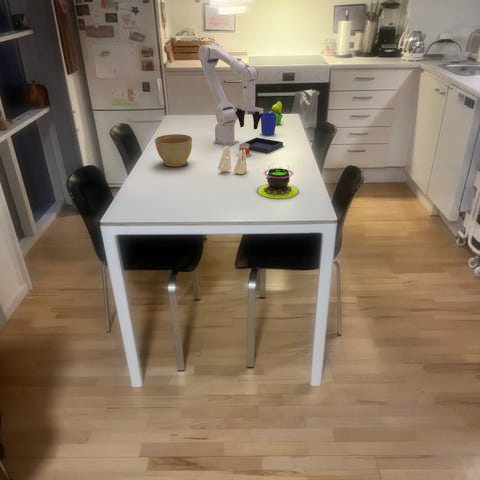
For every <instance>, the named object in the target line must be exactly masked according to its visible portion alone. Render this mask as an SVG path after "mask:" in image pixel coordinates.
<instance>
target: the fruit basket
mask: <svg viewBox="0 0 480 480" xmlns="http://www.w3.org/2000/svg"><path fill="white" fill-rule="evenodd" d="M282 108H283V104H282V101H279V100H278V101H277V102H276V103H274V104H273V105H272V106H271V110H269V111H265V112H264V111H263V113H275V114H276V115H277V116H276V125H275V126H280V125H281V122H282V118H283V114H282V110H283V109H282Z"/></svg>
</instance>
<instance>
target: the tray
mask: <svg viewBox="0 0 480 480" xmlns="http://www.w3.org/2000/svg"><path fill="white" fill-rule="evenodd" d="M243 143H247V144H250V152H251V151H252V152H255V153H256V152H258V153H262V154H271V153H272V152H275V151H276V150H278V149H281V148H283V147H284V141H279V140H275V139H268V138H262V137H254V138H251V139H249V140H247V141H244V142H243Z"/></svg>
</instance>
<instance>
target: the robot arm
mask: <svg viewBox="0 0 480 480" xmlns="http://www.w3.org/2000/svg"><path fill="white" fill-rule="evenodd" d="M197 57H198V59H199V62H200V64H201V69H202V71H203V75H204V77H205V79H206V83H207V84H208V87H209V89H210V92H211V94H212V98H213V100H214V102H215V104H216V108H215V109H214V113H215V119H216V122H217V123H216V124H215V127H214V144H219V145H225V146H231V145H234V144H237V143H238V142H239V140H236V139H235V138H236V136H235V132H236V131H235V130H236V129H235V125H236V122H237V120H238V123H239V127H240V128H243V127H245V115H246V112H248V113H252V114H251V116H252V120H253V130H258V126H259V124H260V121H261V116H262V113H264V108H263V107H258V106H256V81H257V80H258V77H259V71H258V68H256V66H254V65H251V66H250V65H249V64H248V63H246V62H244V61H243V60H242V58H241V57H235V58H234V57H233V56H232V55H230V53H229V52H228V51H226V50H225V49H224V48H223V46H222V45H220V44H219V43H212V44H201V45H200V46H199V48H198V51H197ZM219 61H221V62H223V63H225V64H226V65H228V66H229V69H230V70H231V72H233V73H235V74H236V75H237V76H238V77H239V78H240V81H241V86H242V104H236V105H234V104H232V103H231V102H229V101H228V98H227V96H226V94H225V91H224V88H223V86H222V84H221V81H220V79H219V75H218V74H217V71H216V67H217V64H218V63H219Z"/></svg>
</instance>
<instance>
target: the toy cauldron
mask: <svg viewBox="0 0 480 480" xmlns="http://www.w3.org/2000/svg"><path fill="white" fill-rule="evenodd" d="M272 165H273V164H270V165H268V169H266V170H264V171H263V175H264V176H265V179H266V182H267V184H264V185H262V186H260V187H259V188H258V193H259V195H260V196H263V197H265V198H269V199H275V200H276V199H277V200H278V199H282V200H283V199H289V198H292V197H295V196H296V195H297V194H298V189H297V188H296V187H295V186H292V185H289V183H290V181H291V180H290V179H291V177H292V176H294V174H295V173H294V171H292V170H290V169H289V168H290V167H289V164H286V166H288V167H287V168H283V167H282V166H280V167H279V168H278V167H275V168H270V166H272Z"/></svg>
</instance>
